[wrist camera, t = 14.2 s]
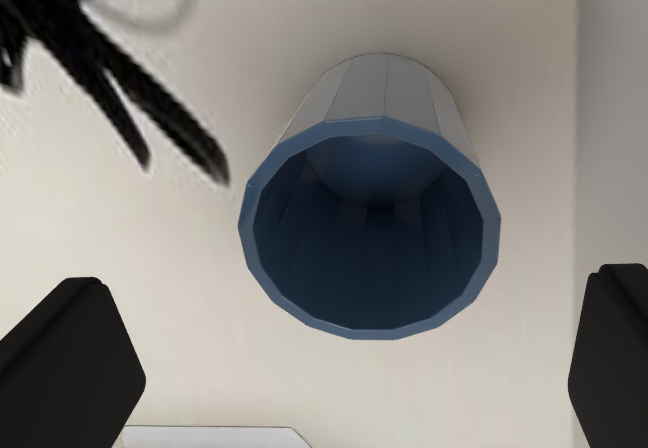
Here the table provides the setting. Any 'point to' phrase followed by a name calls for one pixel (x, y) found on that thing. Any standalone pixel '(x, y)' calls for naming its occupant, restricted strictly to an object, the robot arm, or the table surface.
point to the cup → (372, 205)
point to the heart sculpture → (210, 437)
